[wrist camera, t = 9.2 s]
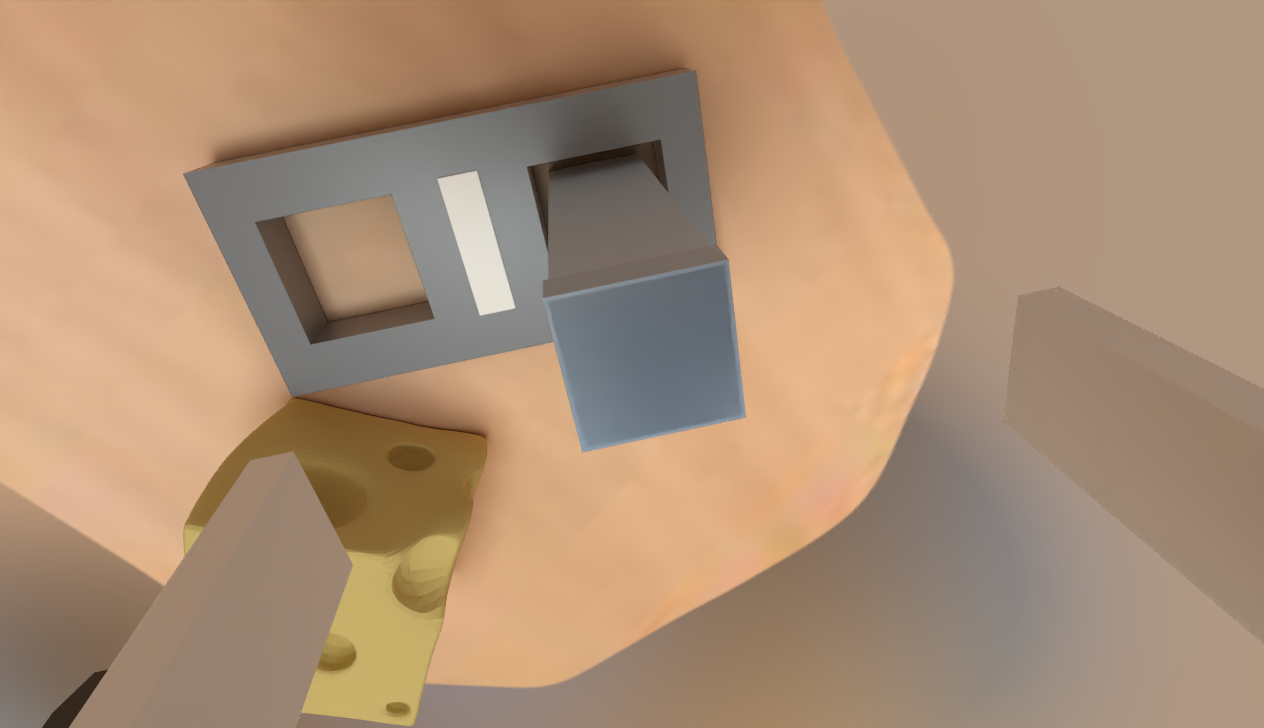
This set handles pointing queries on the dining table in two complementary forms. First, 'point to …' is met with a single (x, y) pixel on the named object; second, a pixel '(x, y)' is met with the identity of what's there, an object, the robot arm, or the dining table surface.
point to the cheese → (372, 543)
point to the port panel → (439, 222)
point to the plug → (637, 308)
